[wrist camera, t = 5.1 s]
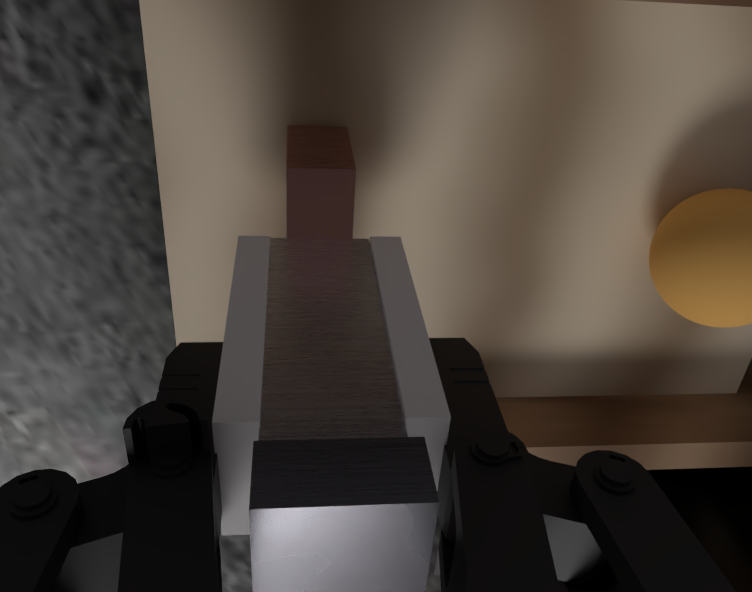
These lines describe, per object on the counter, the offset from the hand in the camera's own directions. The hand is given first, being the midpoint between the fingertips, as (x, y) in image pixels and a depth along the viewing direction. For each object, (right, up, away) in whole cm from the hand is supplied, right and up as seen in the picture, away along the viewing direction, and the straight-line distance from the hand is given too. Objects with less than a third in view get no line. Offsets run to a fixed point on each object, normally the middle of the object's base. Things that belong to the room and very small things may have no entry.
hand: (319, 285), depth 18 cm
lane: (+9, +3, +6) cm, 11 cm away
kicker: (0, +2, +3) cm, 3 cm away
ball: (+11, +1, +3) cm, 12 cm away
